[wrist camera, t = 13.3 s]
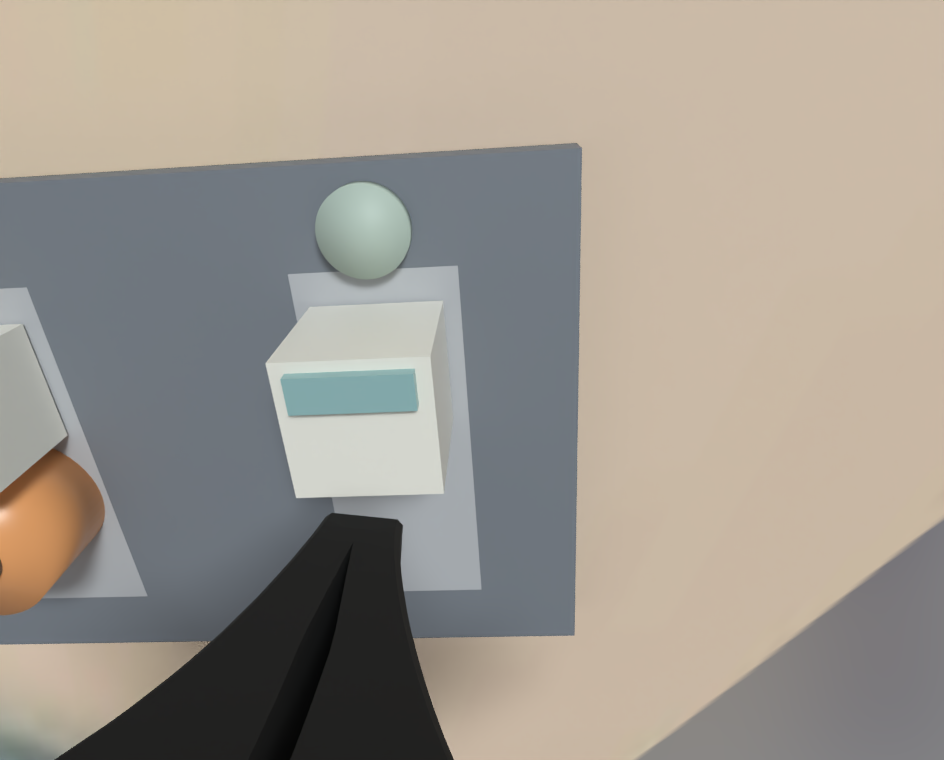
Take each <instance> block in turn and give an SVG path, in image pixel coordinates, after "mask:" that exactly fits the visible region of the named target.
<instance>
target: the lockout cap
mask: <svg viewBox="0 0 944 760" xmlns="http://www.w3.org/2000/svg"><path fill="white" fill-rule="evenodd" d="M104 518H105V505H104V501H103V497H102V495H101V492H100V490H99V488H98V487H97V485H96V483H95V482H94V480H93V479H92V478H91V476H90V475H89V474H88V473H87V472H86V471H85V470H84V469H83V468H82V467H81V466H80V465H79V464H78V463H76V462H75V461H74V460H72V459H71V458H70V457H68V456H66V455H65V454H63V453H61V452H59V451H57V450H55V449H53V448H52V449H51V450H50V451H49V452H47V453H46V454H45V455H44V456H43V457H42V458H40V459H39V460H38V461H37V462H36V463H35V464H33V465H32V466H31V467H30V468H29V469H28V470H26V471H25V472H24V473H23V474H22V475H21V476H19V477H18V478H17V479H16V480H15V481H14V482H12V483H11V484H10V485H9V486H8V487H7V488H5V489H4V490H3V491H2V492H1V493H0V615H11V614H16V613H20V612H23V611H25V610H28V609H30V608H31V607H33V606H35V605H36V604H37V603H38V602H39V601H40V600H41V599H42V598H43V596H44V595H45V594H46V593H47V592H48V591H49V589H50V588H51V587H52V586H53V585H54V584H55V582H56V581H57V580H58V579H59V578H60V577H61V576H62V574H63V573H64V572H65V571H66V570H67V569H68V567H69V566H70V565H71V564H72V563H73V562H74V560H75V559H76V558H77V557H78V556H79V555H80V553H81V552H82V551H83V550H84V549H85V548H86V546H87V545H88V544H89V543H90V542H91V541H92V539H93V538H94V537H95V536H96V535H97V533H98V532H99V531H100V529H101V527H102V525H103V522H104Z"/></svg>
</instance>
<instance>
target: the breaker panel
mask: <svg viewBox="0 0 944 760" xmlns="http://www.w3.org/2000/svg"><path fill="white" fill-rule="evenodd" d="M581 170H582V148H581V147H580V146H579V145H578V144H577V143H571V144H555V145H538V146H522V147H506V148H489V149H473V150H457V151H440V152H424V153H408V154H392V155H375V156H359V157H343V158H326V159H310V160H294V161H277V162H261V163H245V164H228V165H212V166H196V167H179V168H163V169H147V170H131V171H114V172H98V173H82V174H65V175H49V176H33V177H16V178H0V325H8V324H23V326H24V329H25V331H26V334H27V336H28V339H29V341H30V344H31V346H32V349H33V351H34V353H35V356H36V358H37V361H38V363H39V366H40V368H41V371H42V373H43V376H44V378H45V381H46V383H47V386H48V388H49V390H50V393H51V395H52V398H53V400H54V403H55V405H56V408H57V410H58V413H59V415H60V418H61V420H62V423H63V425H64V427H65V430H66V432H67V436H66V437H65V438H64V439H63V440H62V441H60V442H59V443H58V444H57V445H56V446H55V447H53V449H55V450H57V451H59V452H61V453H63V454H65V455H66V456H68V457H70V458H71V459H72V460H74V461H75V462H76V463H78V464H79V465H80V466H81V467H82V468H83V469H84V470H85V471H86V472H87V473H88V474H89V475H90V476H91V478H92V479H93V480H94V482H95V483H96V485H97V487H98V488H99V490H100V492H101V495H102V497H103V501H104V505H105V518H104V522H103V525H102V527H101V529H100V531H99V532H98V533H97V535H96V536H95V537H94V538H93V539H92V541H91V542H90V543H89V544H88V545H87V546H86V548H85V549H84V550H83V551H82V552H81V553H80V555H79V556H78V557H77V558H76V559H75V560H74V562H73V563H72V564H71V565H70V566H69V567H68V569H67V570H66V571H65V572H64V573H63V574H62V576H61V577H60V578H59V579H58V580H57V581H56V582H55V584H54V585H53V586H52V587H51V588H50V589H49V591H48V592H47V593H46V594H45V595H44V596H43V598H42V599H41V600H40V601H39V602H38V603H37V604H36V605H35V606H33V607H31V608H30V609H28V610H25V611H23V612H20V613H16V614H11V615H0V644H60V643H124V642H187V641H212V640H213V639H214V638H216V637H217V636H218V635H219V634H220V633H221V632H222V631H223V630H224V629H225V628H226V627H227V626H228V625H229V624H230V623H231V622H232V621H233V620H234V619H235V618H236V617H237V616H238V615H240V614H241V613H242V612H243V611H244V610H245V609H246V608H247V607H248V606H249V605H250V604H251V603H252V602H253V601H254V600H255V599H256V598H257V597H258V596H259V595H260V594H261V592H262V591H263V590H264V589H265V588H266V587H267V586H268V585H269V584H270V583H271V582H272V581H273V579H274V578H275V577H276V576H277V575H278V574H279V573H280V572H281V571H282V570H283V568H284V567H285V566H286V565H287V564H288V563H289V562H290V561H291V559H292V558H293V557H294V556H295V555H296V554H297V552H298V551H299V550H300V549H301V548H302V546H303V545H304V544H305V543H306V542H307V540H308V539H309V538H310V537H311V535H312V534H313V533H314V531H315V530H316V529H317V528H318V526H319V525H320V524H321V522H322V521H323V520H324V518H325V517H326V516H328V515H329V514H330V513H340V514H350V515H360V516H370V517H380V518H390V519H398V520H399V521H400V522H401V524H402V525H403V533H402V550H401V574H402V582H403V589H404V595H405V601H406V607H407V613H408V618H409V623H410V628H411V632H412V636H413V638H441V637H505V636H568V635H574V629H575V563H576V497H577V432H578V366H579V301H580V235H581ZM423 301H443V305H444V317H445V328H446V340H447V352H448V363H449V375H450V386H451V398H452V410H453V425H452V433H451V441H450V449H449V457H448V465H447V473H446V482H445V490H444V494H419V495H385V496H351V497H316V498H296V495H295V491H294V487H293V482H292V478H291V473H290V469H289V465H288V460H287V456H286V452H285V447H284V443H283V438H282V434H281V430H280V425H279V421H278V417H277V412H276V408H275V404H274V399H273V395H272V390H271V386H270V382H269V377H268V373H267V369H266V364H265V363H266V362H267V361H268V359H269V358H270V357H271V355H272V354H273V353H274V352H275V350H276V349H277V348H278V347H279V345H280V344H281V343H282V341H283V340H284V339H285V338H286V336H287V335H288V334H289V333H290V331H291V330H292V329H293V327H294V326H295V325H296V324H297V322H298V321H299V320H300V319H301V317H302V316H303V315H304V313H305V312H306V311H307V310H308V308H309V307H318V306H339V305H360V304H381V303H402V302H423Z"/></svg>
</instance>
